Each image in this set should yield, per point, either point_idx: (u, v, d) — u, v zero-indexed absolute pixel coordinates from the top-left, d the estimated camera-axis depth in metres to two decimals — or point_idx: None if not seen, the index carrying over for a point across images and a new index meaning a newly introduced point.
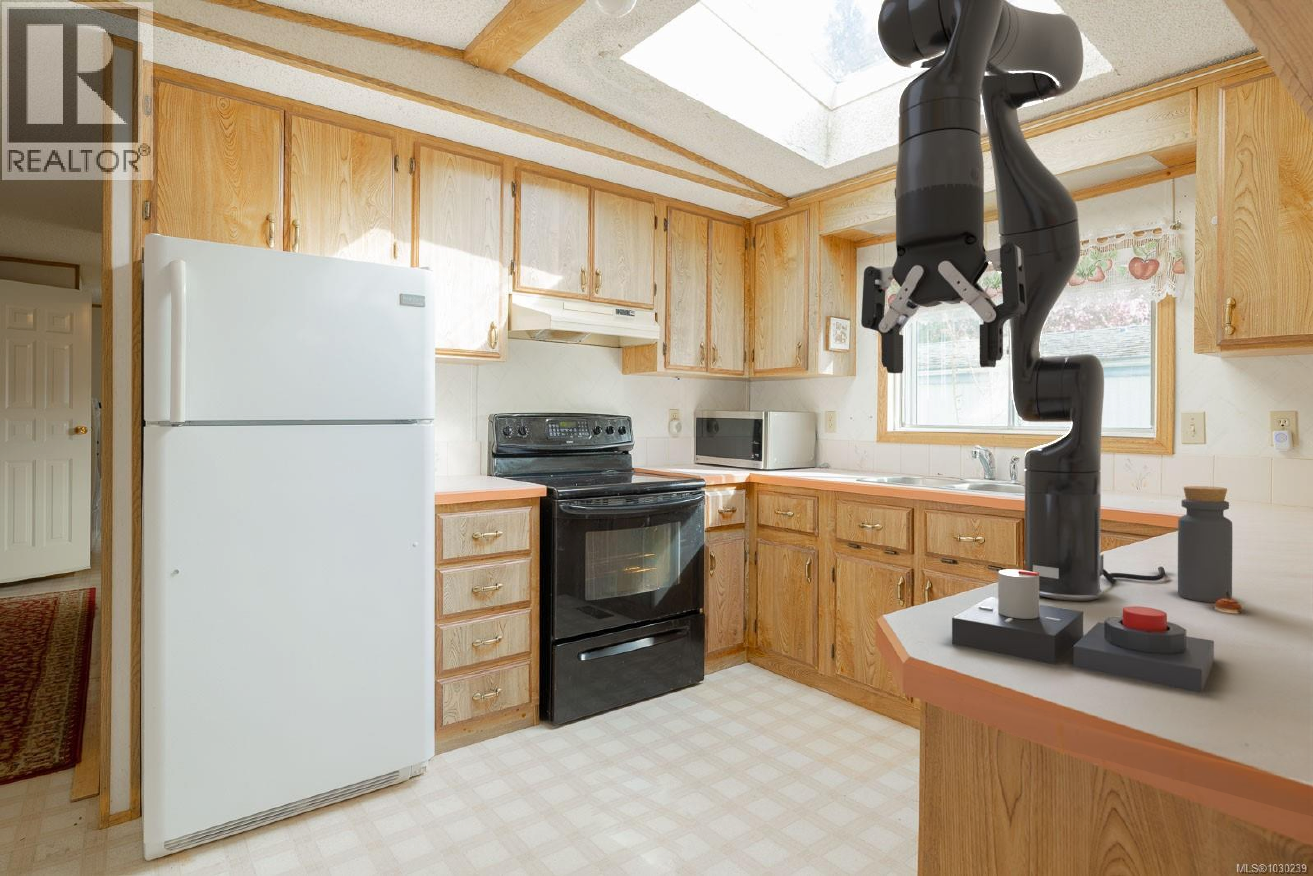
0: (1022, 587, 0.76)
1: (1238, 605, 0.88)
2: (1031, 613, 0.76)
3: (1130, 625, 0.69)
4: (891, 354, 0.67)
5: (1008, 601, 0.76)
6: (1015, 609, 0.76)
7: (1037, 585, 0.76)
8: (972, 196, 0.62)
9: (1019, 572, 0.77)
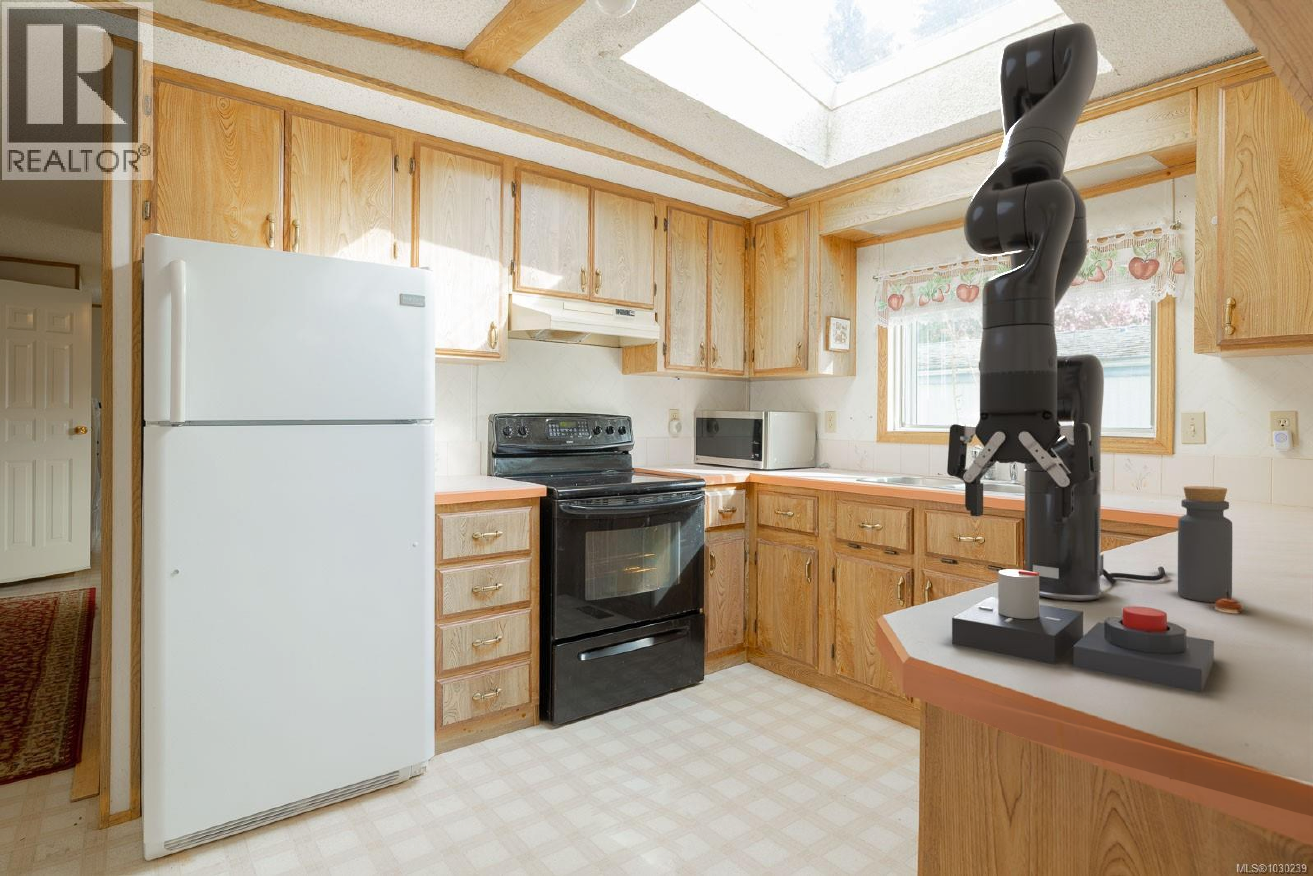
0: (1022, 587, 0.76)
1: (1238, 605, 0.88)
2: (1031, 613, 0.76)
3: (1130, 625, 0.69)
4: (974, 501, 0.79)
5: (1008, 601, 0.76)
6: (1015, 609, 0.76)
7: (1037, 585, 0.76)
8: (1049, 380, 0.73)
9: (1019, 572, 0.77)
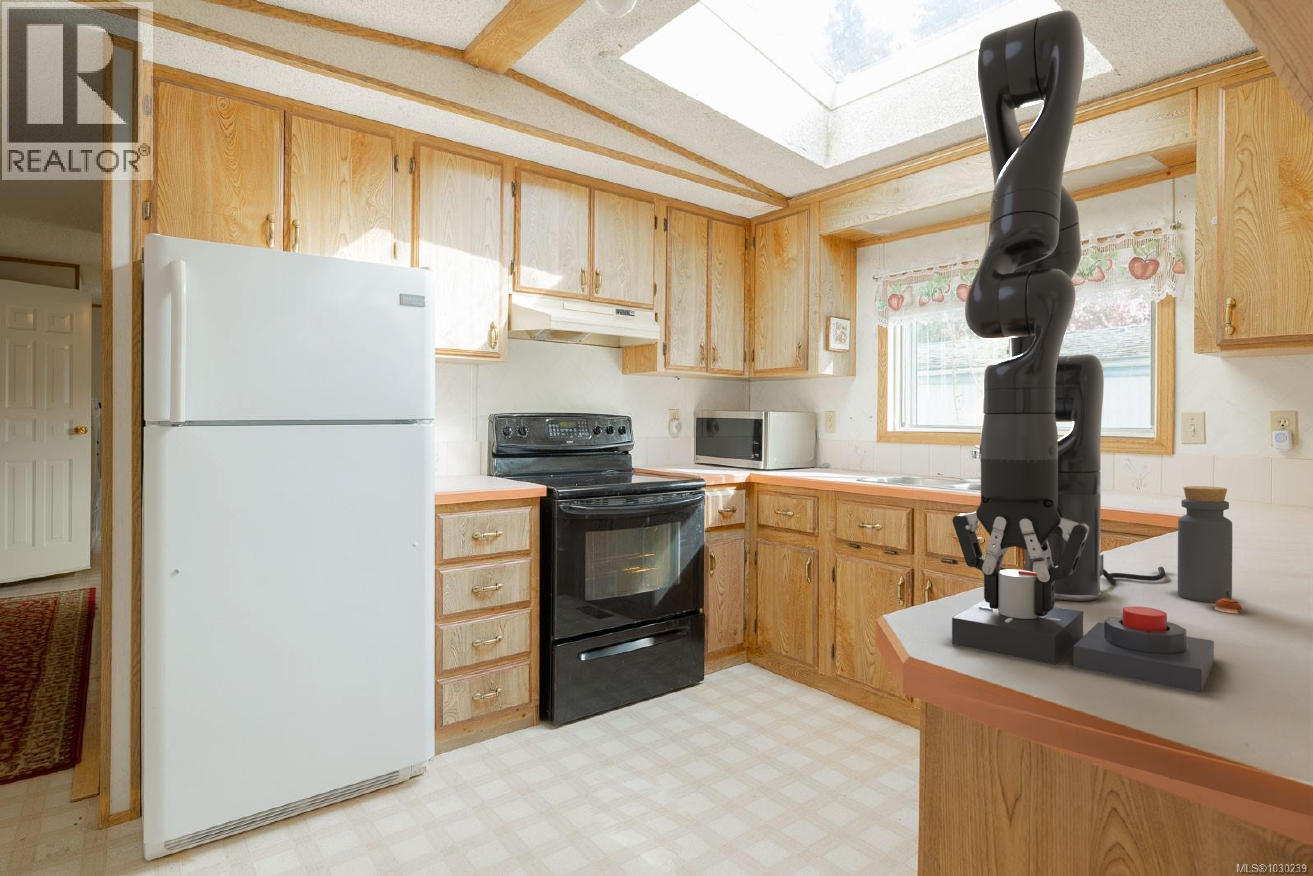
0: (1022, 587, 0.76)
1: (1238, 605, 0.88)
2: (1031, 613, 0.76)
3: (1130, 625, 0.69)
4: (994, 594, 0.78)
5: (1008, 601, 0.76)
6: (1015, 609, 0.76)
7: None
8: (1050, 469, 0.74)
9: (1019, 572, 0.77)
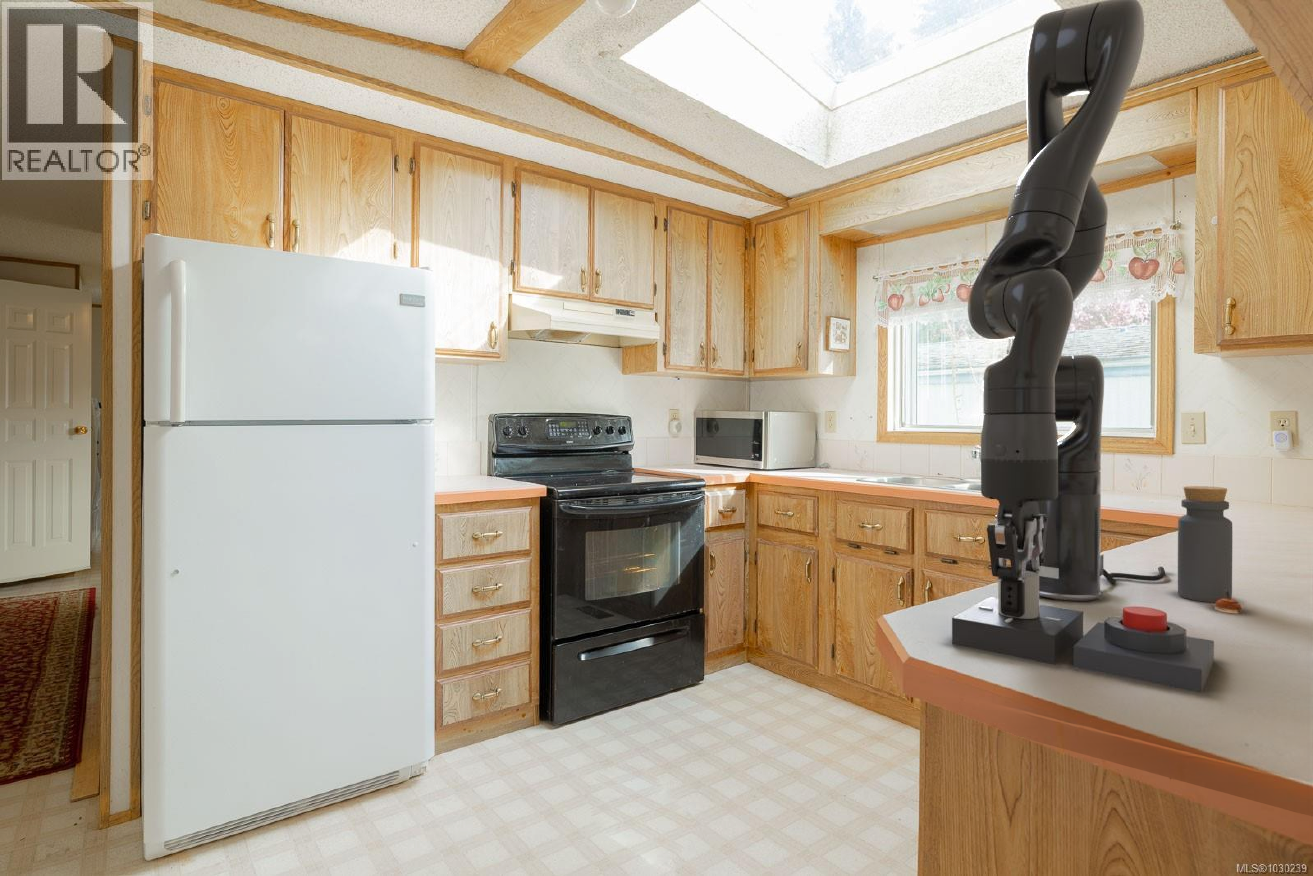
0: (998, 582, 0.78)
1: (1238, 605, 0.88)
2: None
3: (1130, 625, 0.69)
4: None
5: None
6: None
7: None
8: (994, 468, 0.76)
9: None
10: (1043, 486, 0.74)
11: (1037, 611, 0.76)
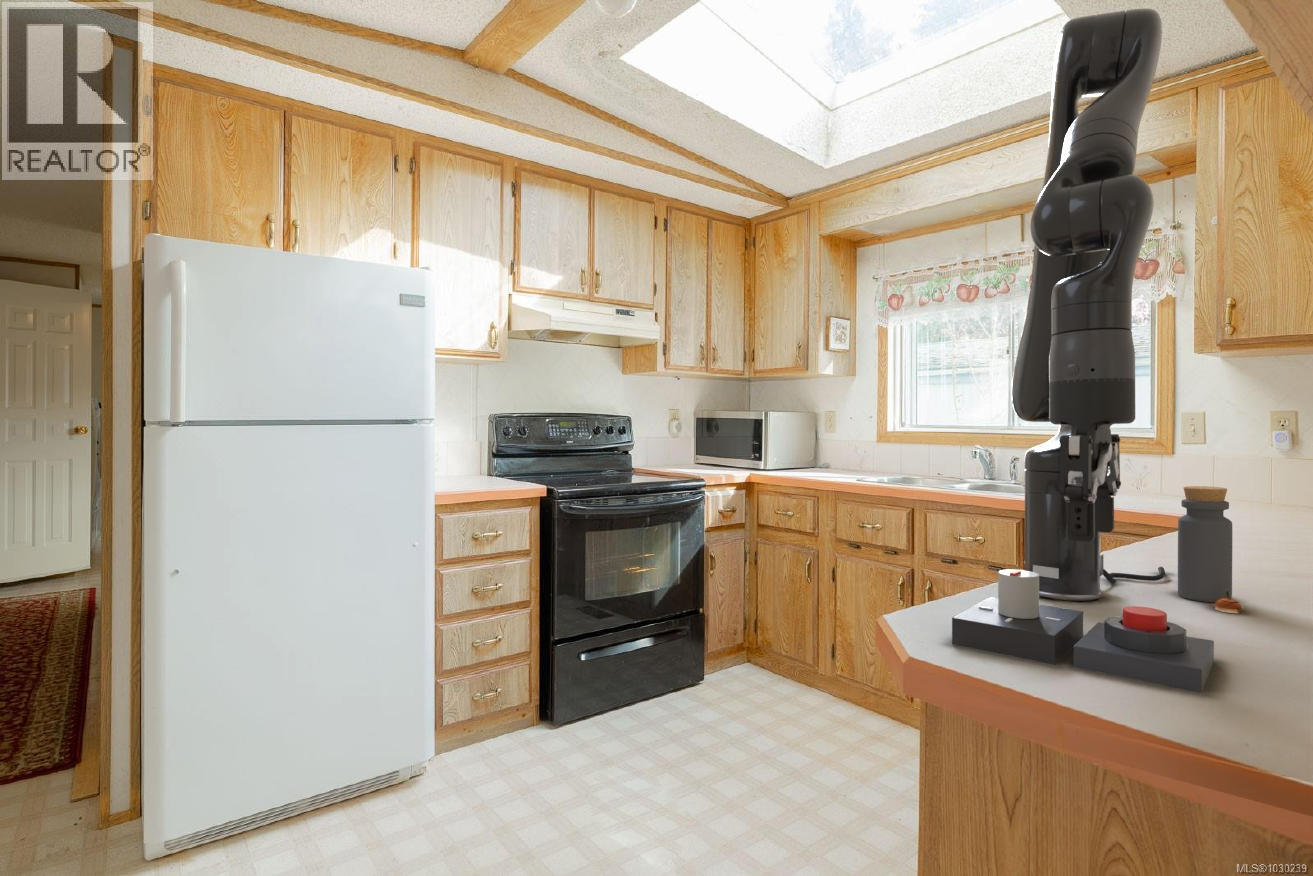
0: (998, 582, 0.78)
1: (1238, 605, 0.88)
2: (1001, 609, 0.77)
3: (1130, 625, 0.69)
4: None
5: None
6: None
7: (1009, 585, 0.76)
8: (1066, 390, 0.71)
9: (1015, 571, 0.78)
10: (1121, 406, 0.69)
11: (1037, 611, 0.76)
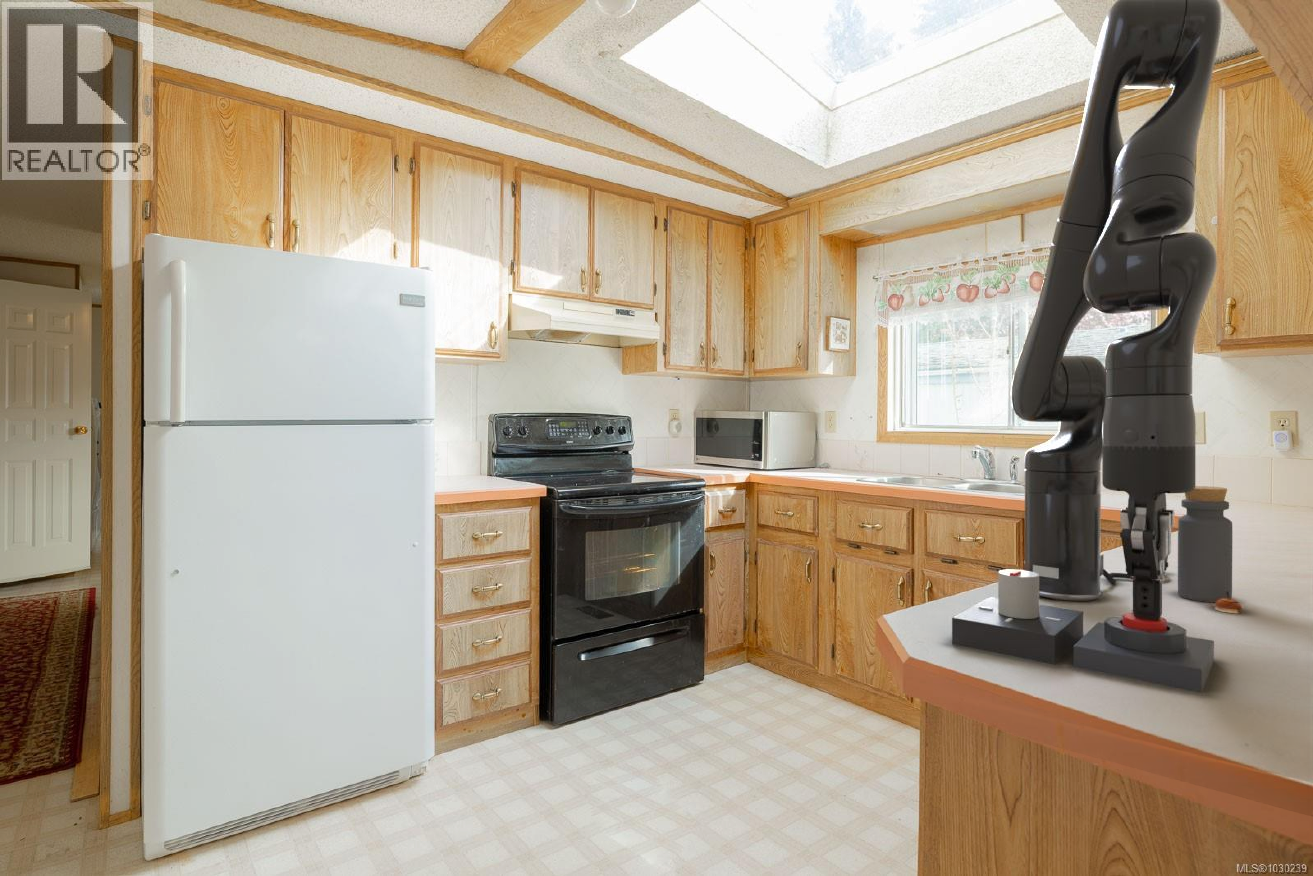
0: (998, 582, 0.78)
1: (1238, 605, 0.88)
2: (1001, 609, 0.77)
3: None
4: None
5: None
6: None
7: (1009, 585, 0.76)
8: (1123, 457, 0.68)
9: (1015, 571, 0.78)
10: (1183, 476, 0.66)
11: (1037, 611, 0.76)
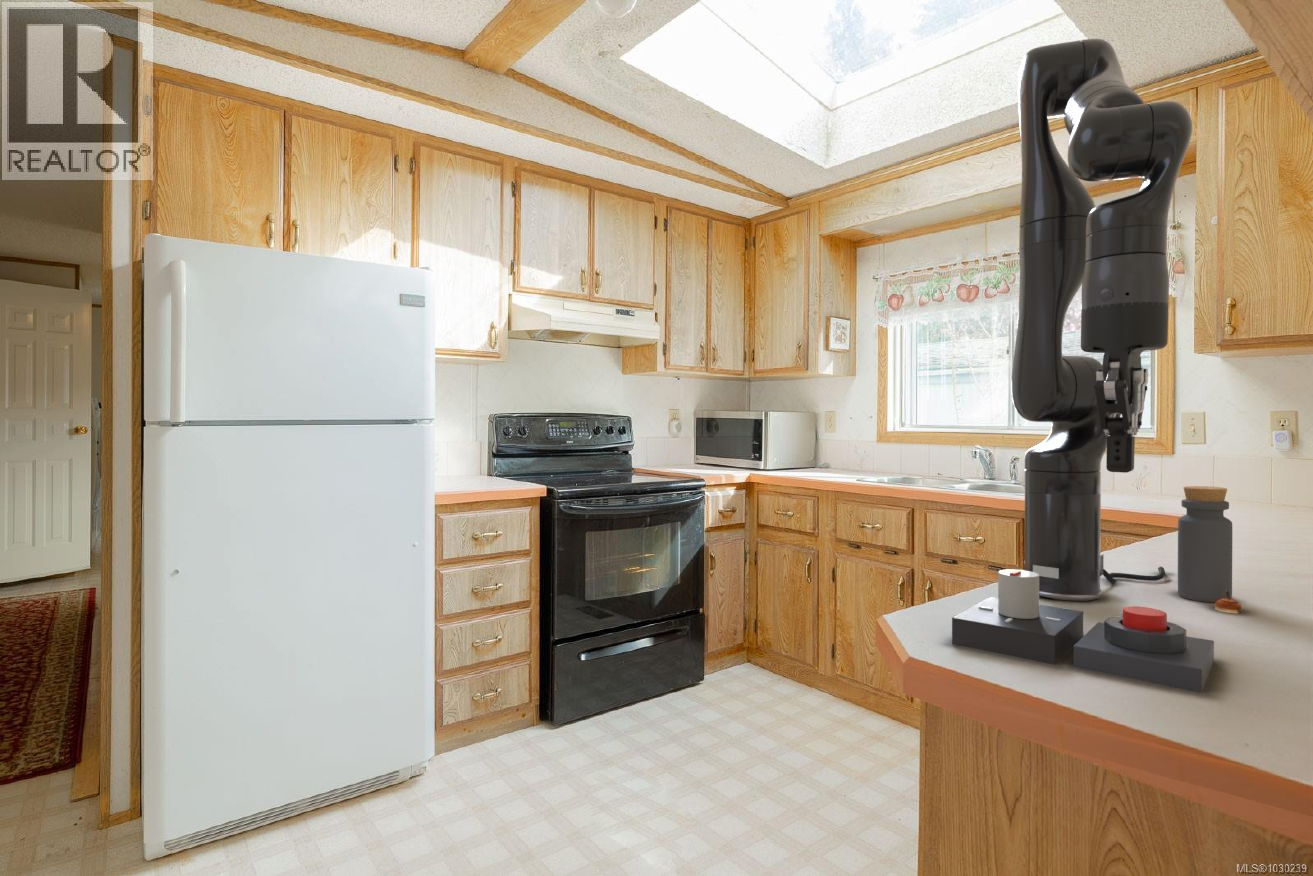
0: (998, 582, 0.78)
1: (1238, 605, 0.88)
2: (1001, 609, 0.77)
3: (1130, 625, 0.69)
4: None
5: None
6: None
7: (1009, 585, 0.76)
8: (1100, 315, 0.71)
9: (1015, 571, 0.78)
10: (1155, 330, 0.69)
11: (1037, 611, 0.76)
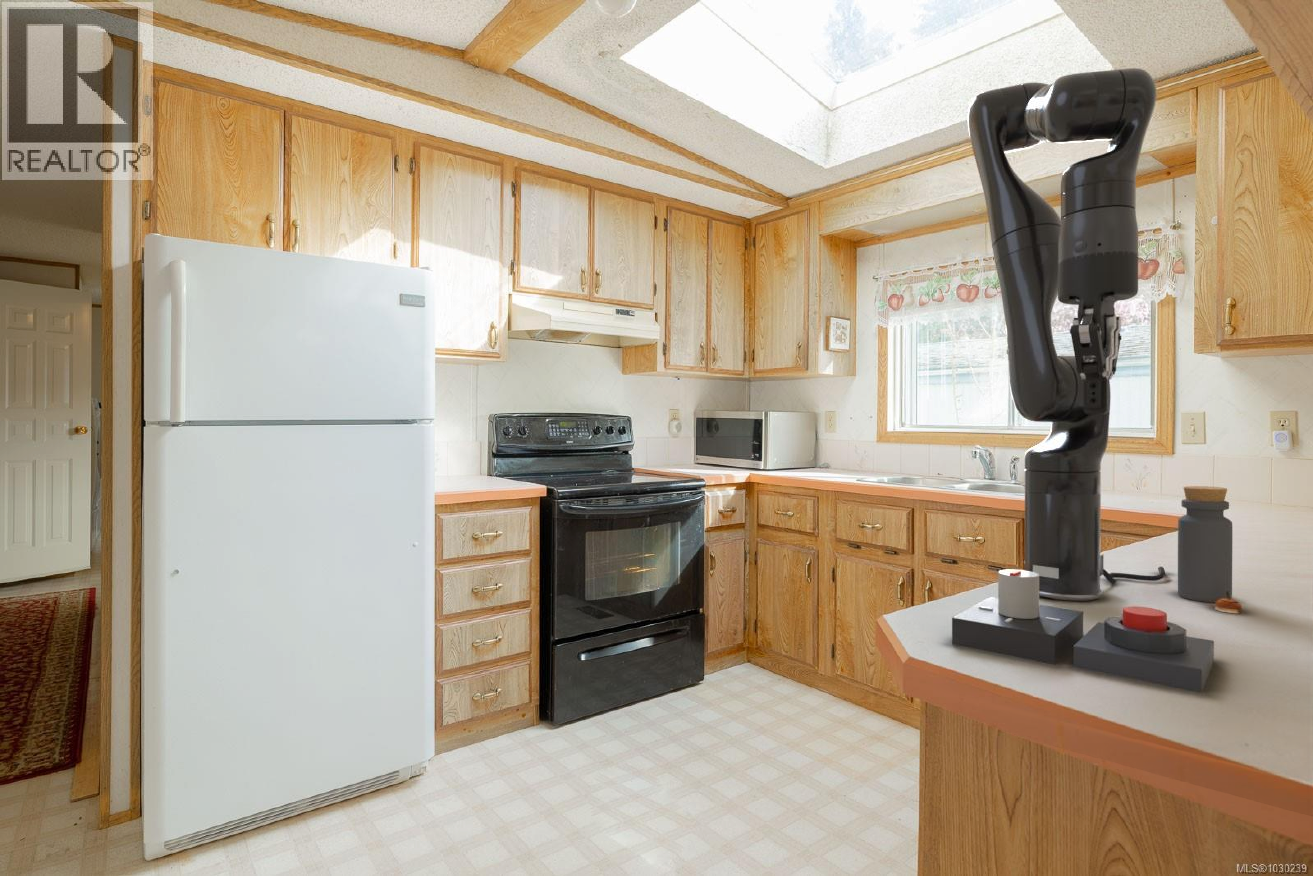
0: (998, 582, 0.78)
1: (1238, 605, 0.88)
2: (1001, 609, 0.77)
3: (1130, 625, 0.69)
4: None
5: None
6: None
7: (1009, 585, 0.76)
8: (1074, 266, 0.76)
9: (1015, 571, 0.78)
10: (1125, 278, 0.74)
11: (1037, 611, 0.76)
